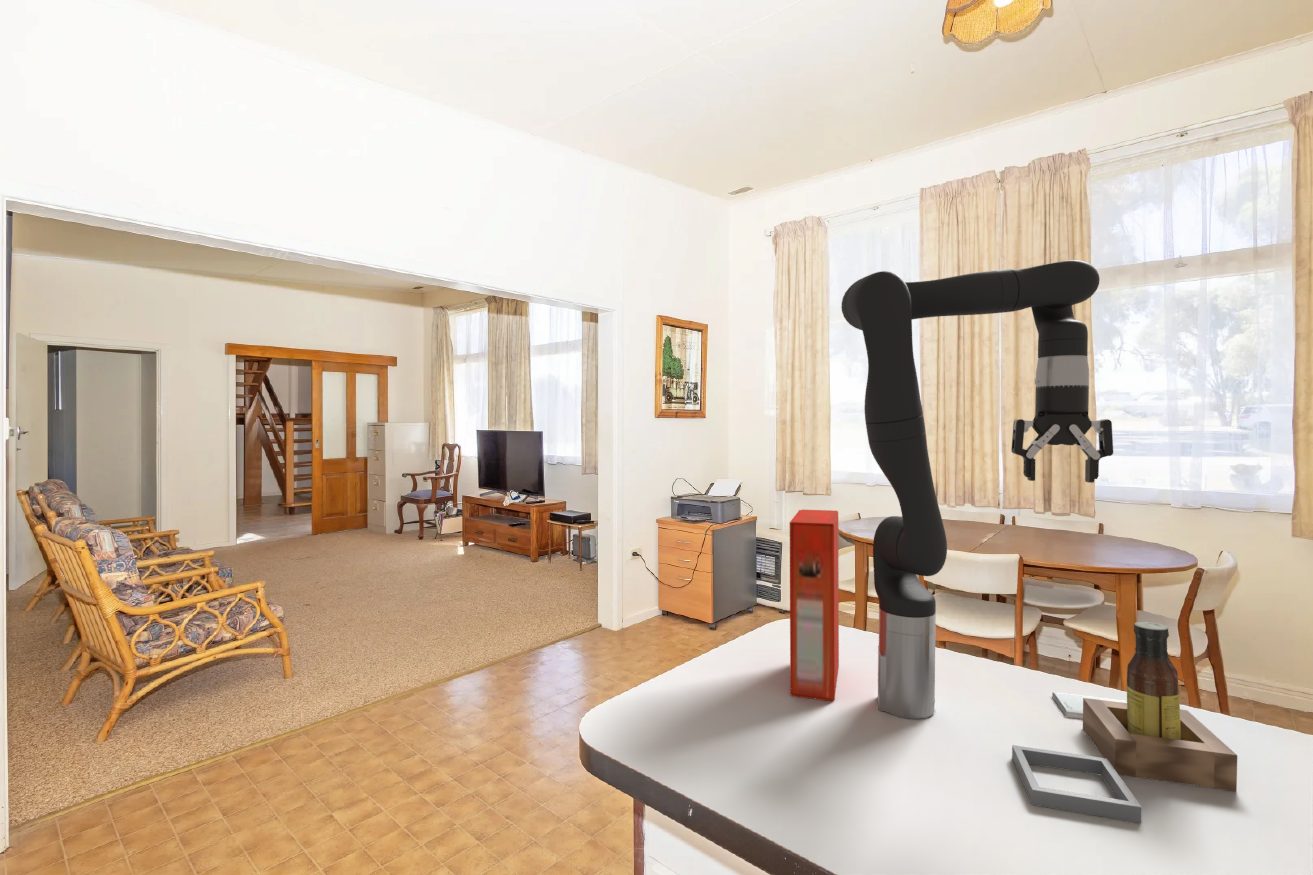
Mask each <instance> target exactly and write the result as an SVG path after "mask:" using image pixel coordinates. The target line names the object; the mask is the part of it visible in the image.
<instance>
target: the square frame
mask: <svg viewBox="0 0 1313 875" xmlns="http://www.w3.org/2000/svg"><path fill="white" fill-rule="evenodd" d="M1011 758H1012V761H1013V764H1014V766H1015V768H1016V770H1017V773H1018V776H1019V777H1020V779H1021V782H1022V784H1023V787H1024V788H1025V791H1026V794H1027V797H1028V798H1029V801H1030V802H1031V805H1032V806H1038V807H1044V808H1050V809H1054V810H1055V809H1056V810H1062V811H1065V812H1066V811H1068V812H1073V813H1078V814H1079V813H1080V814H1084V815H1085V814H1086V815H1091V816H1097V817H1103V818H1109V819H1115V820H1119V821H1120V820H1121V821H1126V822H1127V821H1128V822H1131V823H1139V824H1142V819H1143V818H1142V812H1143V807H1142V806H1141V804H1140V803H1139V801H1138V800H1137V799H1136V797H1135V796H1134V794H1133V793H1132V792H1131V790H1130V789H1129V787H1128V786H1127V785H1126V783H1125V781H1124V780H1123V779H1122V778H1121V776H1120V774H1118V773H1117V772H1116V771H1115V769H1114V768H1113V766H1112V765H1111V764H1110V762H1109V761H1108V759H1107V758H1103V757H1099V756H1091V755H1085V754H1078V753H1072V752H1071V753H1070V752H1064V751H1059V750H1058V751H1056V750H1049V749H1043V748H1037V747H1029V746H1022V745H1015V744H1013V745H1011ZM1030 765H1034V766H1040V767H1048V768H1054V769H1059V770H1067V771H1074V772H1080V773H1084V774H1085V773H1086V774H1091V775H1098V776H1099V775H1100V776H1101V777H1102V779H1103V780H1104V782H1105V783H1106V784H1107V786H1108V788H1109V790H1110V791H1111V793H1112V794H1113V796H1114V797H1115V798H1110V797H1105V796H1098V795H1093V794H1087V793H1079V792H1074V791H1073V792H1072V791H1068V790H1067V791H1066V790H1061V789H1055V788H1049V787H1042V786H1039V784H1038V781H1037V779H1036V778H1035V775H1034V773H1033V771H1032V769H1031V766H1030Z"/></svg>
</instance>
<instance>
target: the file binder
mask: <svg viewBox="0 0 1313 875" xmlns="http://www.w3.org/2000/svg"><path fill="white" fill-rule="evenodd" d="M839 570H840V569H839V511H838V510H831V509H830V510H826V509H799V510H798V511H797V512H796V513H795V515H794V516H793V518H791V520H790V521H789V633H790V634H789V640H790V641H789V644H790V645H789V651H790V652H789V653H790V654H789V657H790V658H789V660H790V663H789V665H790V667H789V671H790V672H789V673H790V675H789V676H790V686H789V687H790V690H789V691H790V695H791V697H795V696H796V698H803V697H804V698H805V699H811V698H816V699H815V700H819V699H822V700H821V701H827V702H828V701H829V702H832V701H835V698H836V691H837V682H838V674H839V668H840V667H839V666H840V650H839V648H840V647H839V645H840V644H839V643H840V642H839V641H840V635H839V634H840V633H839V632H840V631H839V630H840V628H839V626H840V625H839V624H840V623H839V622H840V621H839V619H840V618H839V613H840V610H839V608H840V607H839V605H840V604H839V602H840V600H839V598H840V597H839V594H840V593H839V589H840V588H839V586H840V585H839V580H840V579H839V578H840V577H839Z"/></svg>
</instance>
